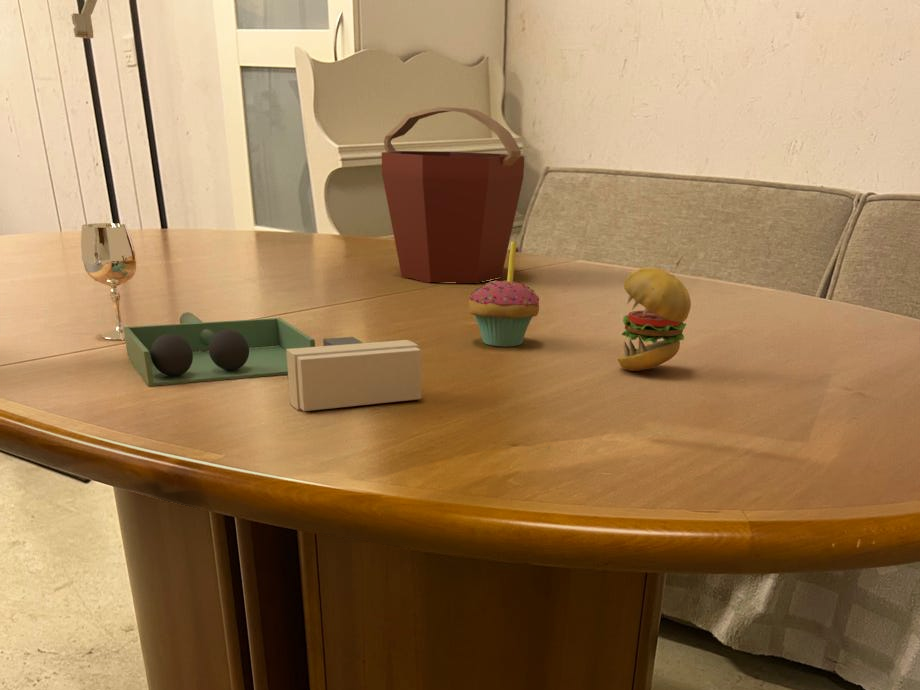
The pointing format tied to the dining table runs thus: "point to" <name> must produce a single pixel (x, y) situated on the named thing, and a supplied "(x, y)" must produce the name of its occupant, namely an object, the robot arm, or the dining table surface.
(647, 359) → the hamburger
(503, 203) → the bucket
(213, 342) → the ball
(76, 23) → the robot arm
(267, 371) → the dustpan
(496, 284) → the cupcake
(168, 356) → the ball
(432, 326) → the dining table surface
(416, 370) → the brush
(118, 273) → the wineglass
